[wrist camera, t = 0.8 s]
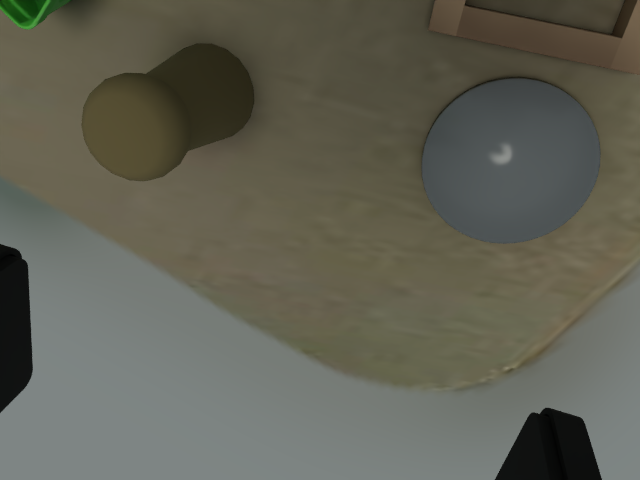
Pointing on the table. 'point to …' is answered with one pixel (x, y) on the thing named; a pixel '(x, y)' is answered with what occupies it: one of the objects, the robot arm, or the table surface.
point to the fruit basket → (29, 10)
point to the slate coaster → (510, 160)
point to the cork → (166, 111)
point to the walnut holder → (545, 34)
